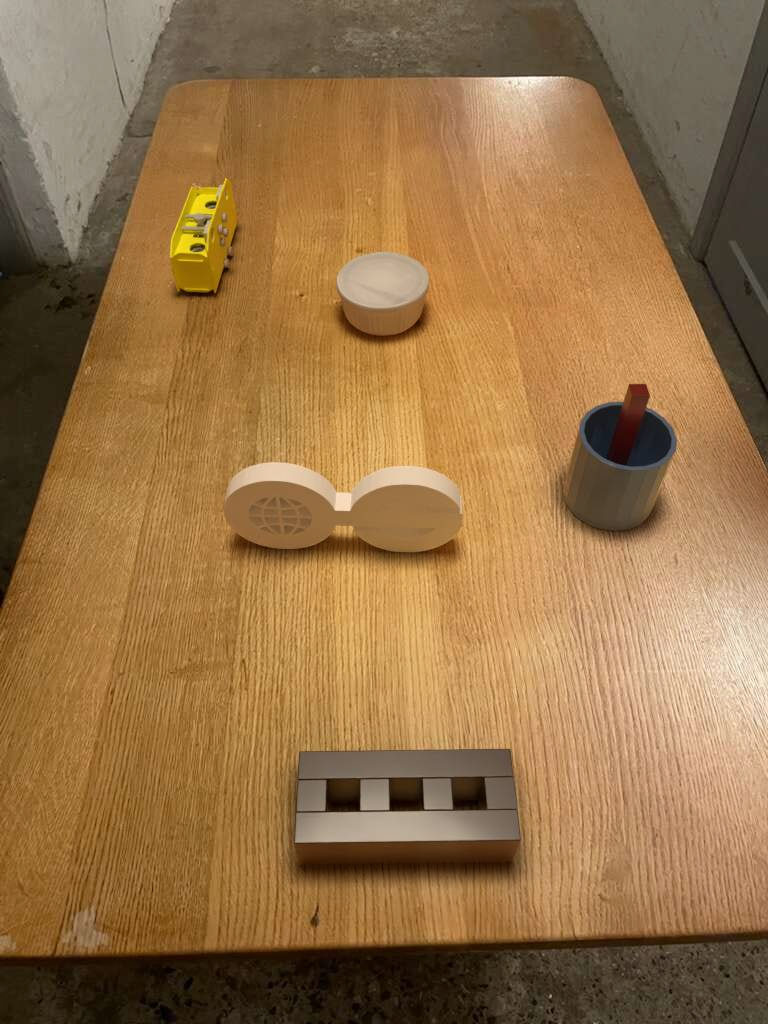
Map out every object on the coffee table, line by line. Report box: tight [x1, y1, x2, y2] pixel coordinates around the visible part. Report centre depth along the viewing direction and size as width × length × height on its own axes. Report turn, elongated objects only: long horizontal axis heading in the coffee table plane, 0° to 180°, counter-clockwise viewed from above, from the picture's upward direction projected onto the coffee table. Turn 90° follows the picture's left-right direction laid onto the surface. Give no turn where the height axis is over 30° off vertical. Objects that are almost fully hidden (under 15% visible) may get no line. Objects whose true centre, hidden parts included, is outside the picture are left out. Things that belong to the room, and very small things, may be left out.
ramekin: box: [335, 251, 430, 337], centre depth 102 cm, size 11×11×5 cm
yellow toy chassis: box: [169, 177, 238, 294], centre depth 108 cm, size 16×6×8 cm, turn 177°
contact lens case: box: [223, 461, 464, 553], centre depth 78 cm, size 22×2×10 cm, turn 88°
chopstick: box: [606, 383, 651, 466], centre depth 80 cm, size 2×2×14 cm
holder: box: [293, 748, 522, 866], centre depth 63 cm, size 7×16×5 cm, turn 91°
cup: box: [562, 401, 678, 532], centre depth 82 cm, size 9×9×9 cm
